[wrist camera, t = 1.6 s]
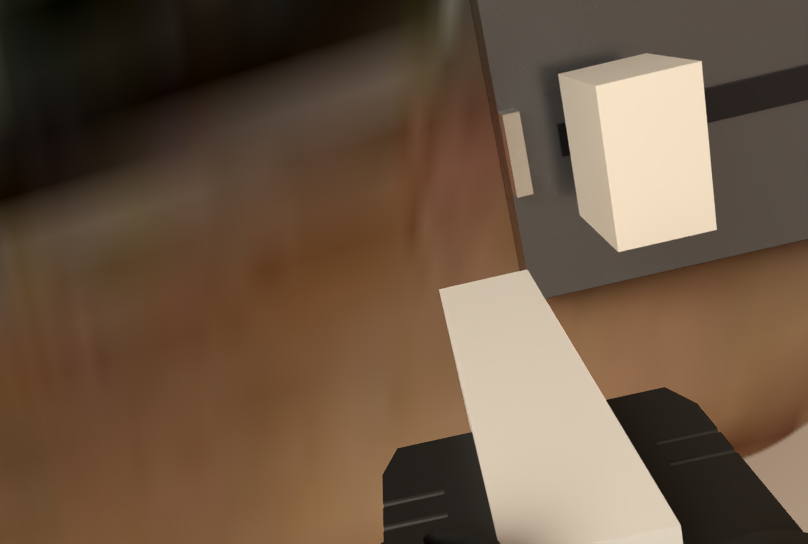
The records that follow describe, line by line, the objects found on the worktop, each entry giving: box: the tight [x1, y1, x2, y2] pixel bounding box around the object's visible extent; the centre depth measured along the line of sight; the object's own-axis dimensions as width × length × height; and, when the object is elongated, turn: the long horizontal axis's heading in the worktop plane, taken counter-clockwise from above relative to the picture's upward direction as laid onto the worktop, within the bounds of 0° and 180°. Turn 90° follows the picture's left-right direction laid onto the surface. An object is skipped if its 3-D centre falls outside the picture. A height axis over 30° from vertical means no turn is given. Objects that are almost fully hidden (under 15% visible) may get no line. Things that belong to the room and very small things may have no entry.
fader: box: [558, 53, 717, 252], centre depth 24 cm, size 3×5×5 cm, turn 13°
